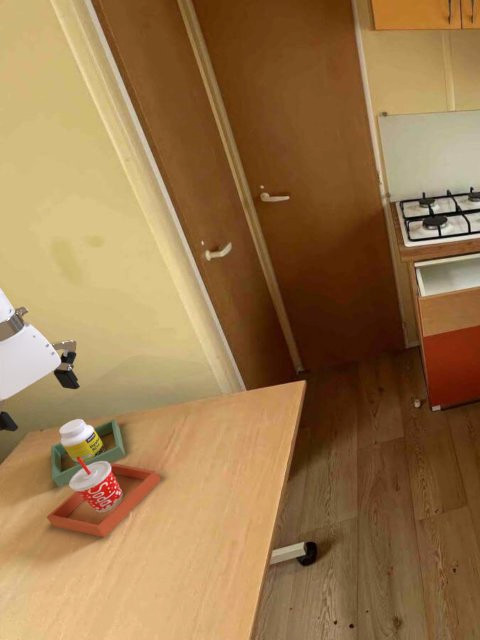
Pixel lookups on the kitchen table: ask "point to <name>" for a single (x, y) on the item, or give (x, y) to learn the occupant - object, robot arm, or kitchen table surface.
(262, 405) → the kitchen table surface
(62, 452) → the bin
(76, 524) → the bin
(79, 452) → the supplement bottle
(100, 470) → the beverage cup
